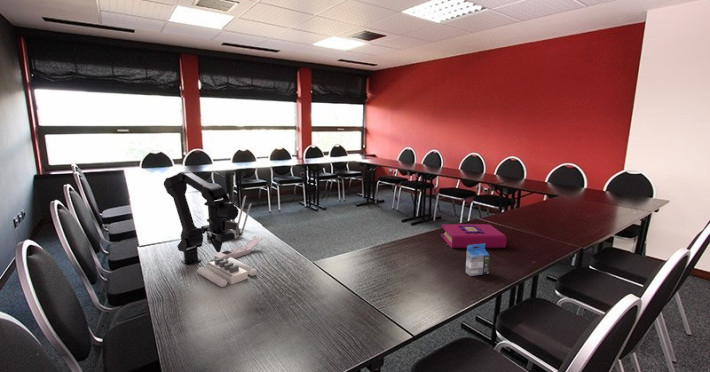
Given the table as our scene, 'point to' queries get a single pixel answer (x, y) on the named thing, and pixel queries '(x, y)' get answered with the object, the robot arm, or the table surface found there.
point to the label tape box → (477, 260)
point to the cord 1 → (212, 276)
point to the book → (473, 235)
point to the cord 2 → (243, 266)
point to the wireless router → (237, 231)
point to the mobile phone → (238, 250)
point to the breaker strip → (227, 270)
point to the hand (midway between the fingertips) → (218, 252)
